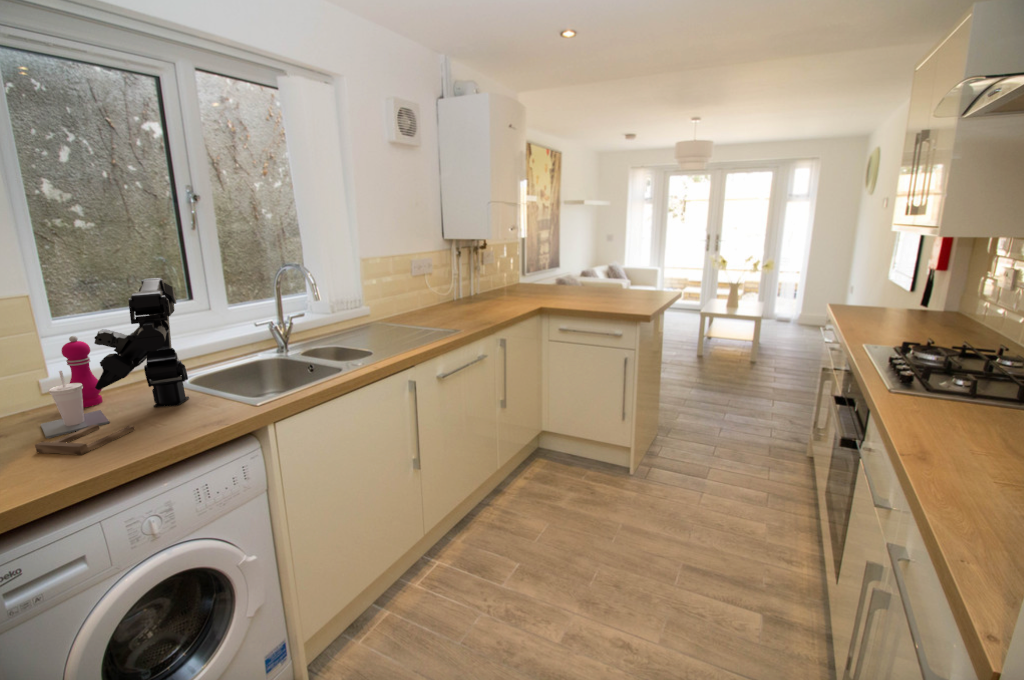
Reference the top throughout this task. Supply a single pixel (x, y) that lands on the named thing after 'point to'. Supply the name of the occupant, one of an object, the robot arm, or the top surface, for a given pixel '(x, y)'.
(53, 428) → the plate
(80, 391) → the smoothie
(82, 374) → the pepper mill
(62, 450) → the lane
